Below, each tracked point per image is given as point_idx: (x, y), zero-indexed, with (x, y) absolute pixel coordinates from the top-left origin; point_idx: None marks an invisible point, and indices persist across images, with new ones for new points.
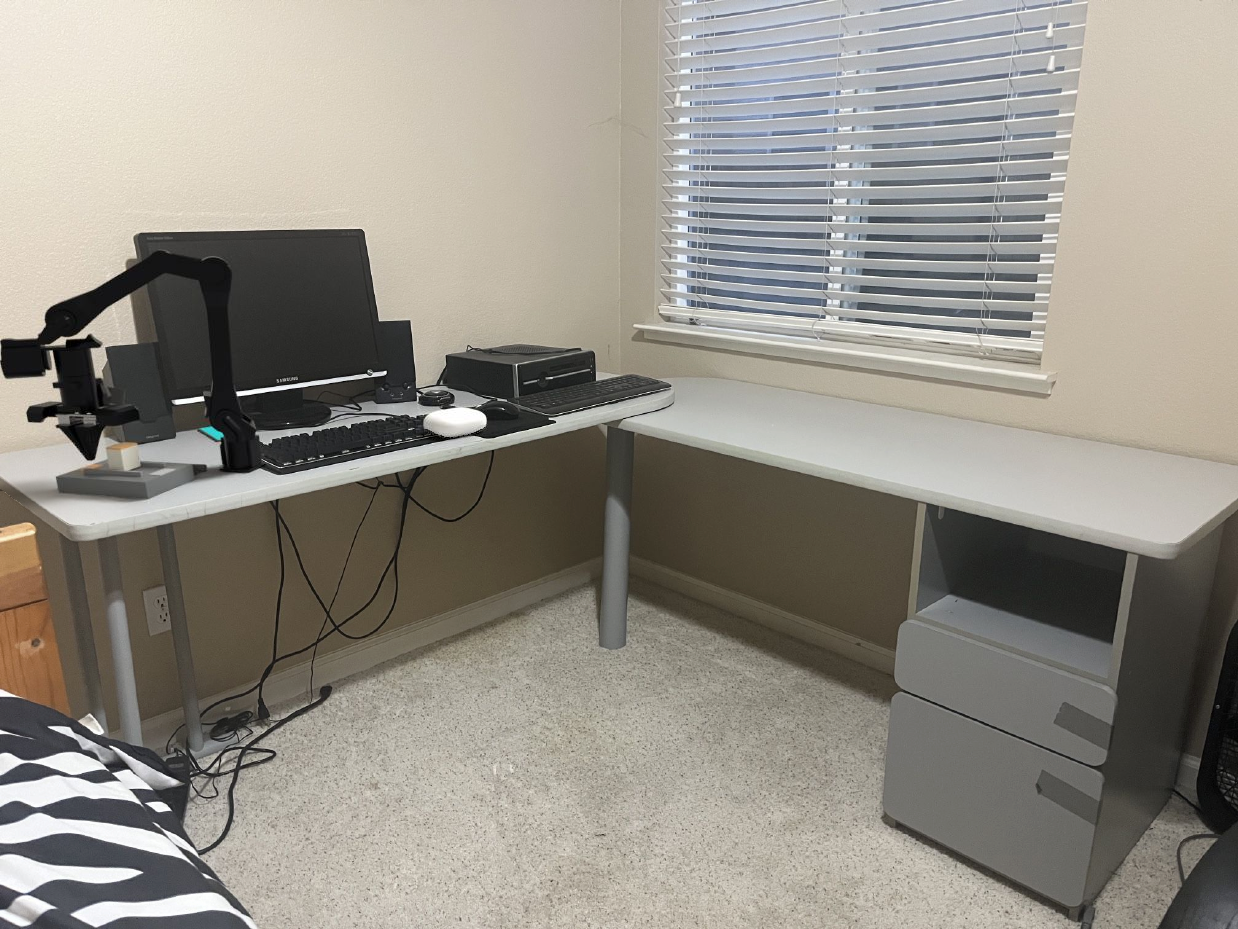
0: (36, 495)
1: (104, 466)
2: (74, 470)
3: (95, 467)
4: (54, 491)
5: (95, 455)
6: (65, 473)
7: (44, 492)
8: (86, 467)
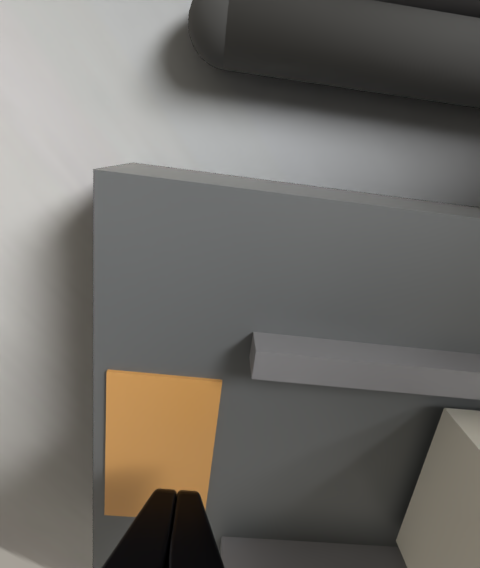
0: (42, 550)
1: (251, 408)
2: (99, 511)
3: (209, 452)
4: (74, 498)
5: (209, 528)
6: (96, 565)
7: (37, 514)
8: (134, 455)
